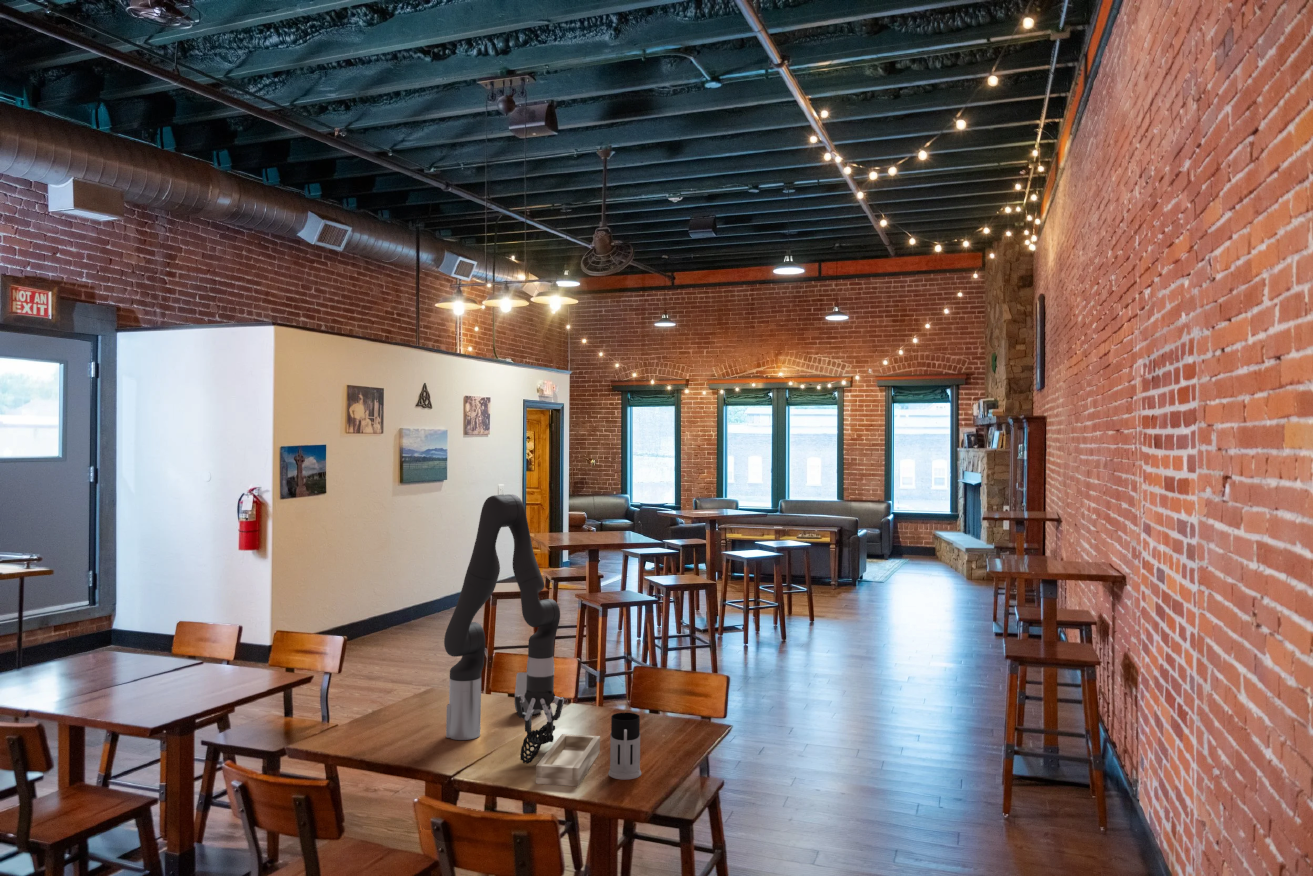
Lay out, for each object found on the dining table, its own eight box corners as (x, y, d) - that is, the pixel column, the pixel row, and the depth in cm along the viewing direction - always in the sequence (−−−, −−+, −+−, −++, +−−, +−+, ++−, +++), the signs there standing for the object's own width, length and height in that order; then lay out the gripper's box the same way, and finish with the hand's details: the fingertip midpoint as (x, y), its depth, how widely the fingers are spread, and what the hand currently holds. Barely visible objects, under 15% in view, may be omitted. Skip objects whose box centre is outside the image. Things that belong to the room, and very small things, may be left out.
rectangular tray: (535, 783, 232) (536, 765, 232) (561, 750, 259) (561, 734, 259) (578, 786, 231) (578, 768, 231) (599, 752, 257) (599, 736, 258)
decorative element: (535, 765, 241) (536, 742, 241) (516, 763, 241) (517, 741, 242) (557, 739, 263) (558, 718, 263) (540, 737, 264) (541, 717, 264)
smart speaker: (544, 709, 301) (545, 666, 301) (542, 717, 292) (543, 673, 292) (515, 709, 300) (516, 666, 300) (513, 717, 291) (513, 673, 291)
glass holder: (641, 768, 245) (641, 711, 245) (642, 787, 231) (642, 727, 231) (608, 768, 245) (609, 711, 245) (607, 787, 230) (608, 727, 231)
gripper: (511, 674, 250) (509, 736, 250) (562, 677, 248) (560, 740, 248) (519, 667, 258) (517, 728, 257) (568, 670, 256) (567, 731, 255)
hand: (538, 733), depth 253 cm, fingers closed on decorative element, 5 cm apart
